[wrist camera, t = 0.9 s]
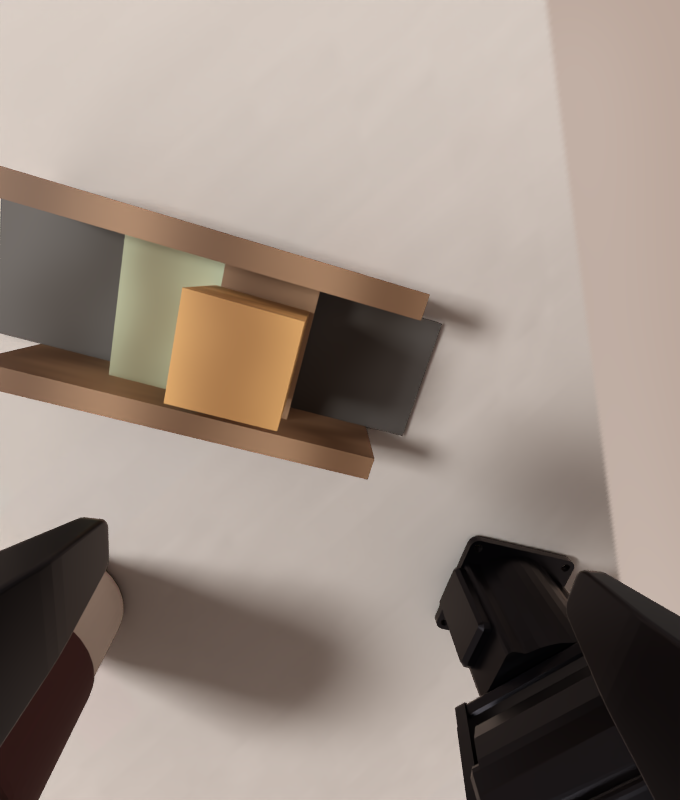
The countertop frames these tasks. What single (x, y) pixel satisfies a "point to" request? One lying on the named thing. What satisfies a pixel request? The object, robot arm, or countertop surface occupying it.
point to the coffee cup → (59, 699)
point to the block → (234, 355)
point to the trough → (157, 316)
